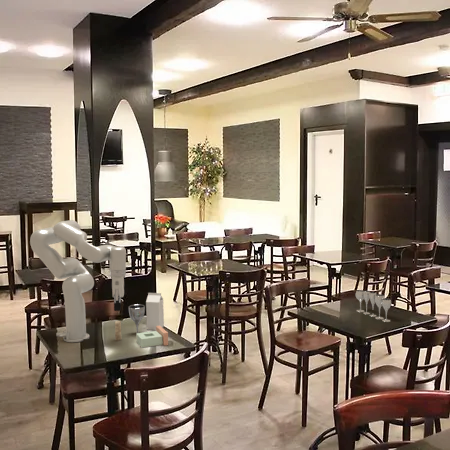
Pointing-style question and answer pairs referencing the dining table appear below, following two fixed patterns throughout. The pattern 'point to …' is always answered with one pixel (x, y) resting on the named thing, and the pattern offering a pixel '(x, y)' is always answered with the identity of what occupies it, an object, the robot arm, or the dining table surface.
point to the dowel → (118, 330)
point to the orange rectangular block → (163, 334)
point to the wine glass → (136, 313)
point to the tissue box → (149, 339)
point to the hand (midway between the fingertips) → (117, 310)
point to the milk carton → (154, 311)
